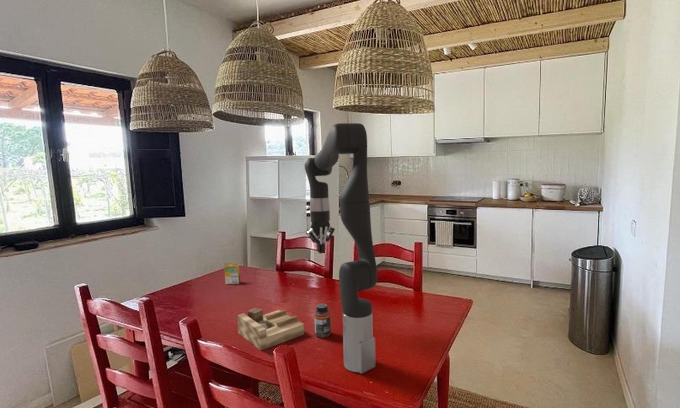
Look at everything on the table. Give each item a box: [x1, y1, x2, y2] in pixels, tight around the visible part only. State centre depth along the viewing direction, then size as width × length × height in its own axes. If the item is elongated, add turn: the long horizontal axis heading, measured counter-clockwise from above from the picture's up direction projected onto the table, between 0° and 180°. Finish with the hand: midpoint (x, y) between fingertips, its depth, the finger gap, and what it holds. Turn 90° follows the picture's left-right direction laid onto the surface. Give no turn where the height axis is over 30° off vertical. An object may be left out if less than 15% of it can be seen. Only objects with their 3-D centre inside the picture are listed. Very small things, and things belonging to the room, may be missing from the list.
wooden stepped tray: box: [237, 309, 305, 351], centre depth 138 cm, size 18×18×7 cm
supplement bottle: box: [313, 303, 332, 339], centre depth 135 cm, size 6×6×11 cm
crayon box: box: [224, 262, 241, 285], centre depth 198 cm, size 7×3×12 cm, turn 93°
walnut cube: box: [247, 307, 264, 322], centre depth 140 cm, size 4×4×4 cm
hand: (321, 252), depth 144 cm, fingers closed
